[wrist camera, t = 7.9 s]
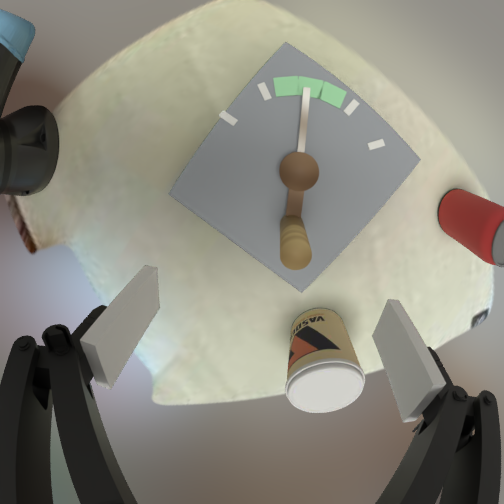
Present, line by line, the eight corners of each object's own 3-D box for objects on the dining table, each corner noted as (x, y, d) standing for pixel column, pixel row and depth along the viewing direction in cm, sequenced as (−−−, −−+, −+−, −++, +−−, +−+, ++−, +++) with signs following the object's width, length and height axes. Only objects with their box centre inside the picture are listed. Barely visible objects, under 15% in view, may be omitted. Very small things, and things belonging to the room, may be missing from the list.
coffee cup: (321, 290, 35) (335, 352, 24) (360, 327, 37) (380, 388, 26) (272, 329, 38) (267, 393, 27) (312, 360, 40) (318, 421, 29)
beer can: (469, 230, 29) (520, 265, 18) (436, 237, 31) (486, 277, 20) (469, 186, 27) (527, 209, 16) (435, 190, 28) (493, 216, 17)
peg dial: (287, 86, 24) (290, 63, 16) (325, 91, 24) (343, 71, 16) (272, 233, 30) (269, 267, 22) (307, 237, 30) (317, 272, 22)
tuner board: (172, 189, 32) (165, 192, 30) (283, 46, 24) (283, 39, 22) (300, 284, 35) (301, 293, 33) (413, 158, 27) (421, 159, 25)
